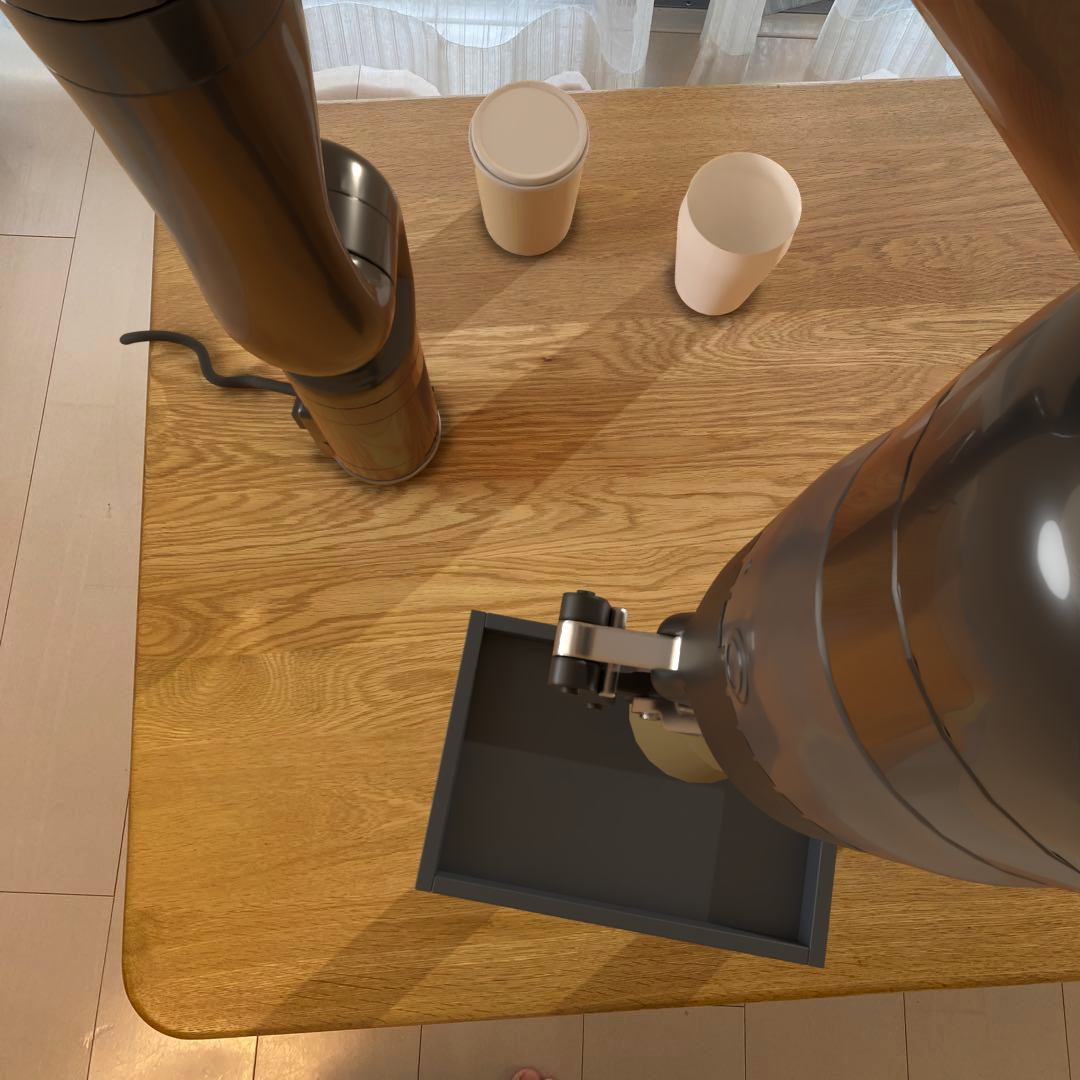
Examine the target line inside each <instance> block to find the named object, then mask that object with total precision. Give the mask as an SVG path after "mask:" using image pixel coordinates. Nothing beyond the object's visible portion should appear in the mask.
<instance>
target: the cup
mask: <svg viewBox="0 0 1080 1080" xmlns="http://www.w3.org/2000/svg"><path fill="white" fill-rule="evenodd" d="M802 204H803V203H802V197H801V193H800V190H799V187H798V185H797V183H796V182H795V179H794V178H793V176H791V175H790V173H789V172H788V171H787V169H785V168H784V167H783V166H782V165H781V164H780V163H777V162H776V161H775V160H773V159H771V158H769V157H766V156H764V155H761V154H759V153H754V152H748V151H733V152H728V153H723V154H720V155H718V156H715V157H714V158H712V159H710V160H708V161H707V162H705V163H704V164H703V165H702V166H701V167H700V168H698V170H697V172H696V173H695V174H694V175H693V177H692V179H691V181H690V183H689V186H688V188H687V190H686V193H685V196H684V197H683V200H682V202H681V204H680V208H679V211H678V216H677V227H676V228H677V230H676V245H675V246H676V248H675V265H674V266H675V267H674V285H675V289H676V292H677V294H678V296H679V297H680V299H681V300H682V302H683V303H684V304H685V305H686V306H688V307H689V308H690V309H692V310H694V311H695V312H697V313H700V314H702V315H706V316H707V315H708V316H722V315H725V314H729V313H731V312H734V311H735V310H737V309H738V308H739V307H741V306H742V304H743V303H744V302H745V301H746V300H747V299H748V298H749V296H751V294H752V293H753V292H754V291H755V290H756V288H757V287H758V286H759V285H760V284H761V283H762V282H763V281H764V280H765V279H766V278H767V276H768V275H769V274H770V273H771V272H772V271H773V270H774V269H775V267H776V266H777V265H778V264H779V263H780V261H781V260H782V259H783V257H784V256H785V255H786V253H787V252H788V250H789V248H790V246H791V244H792V240H793V238H794V234H795V232H796V230H797V228H798V226H799V223H800V221H801V220H800V219H801V216H802V210H803V208H802V207H803V206H802Z"/></svg>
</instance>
